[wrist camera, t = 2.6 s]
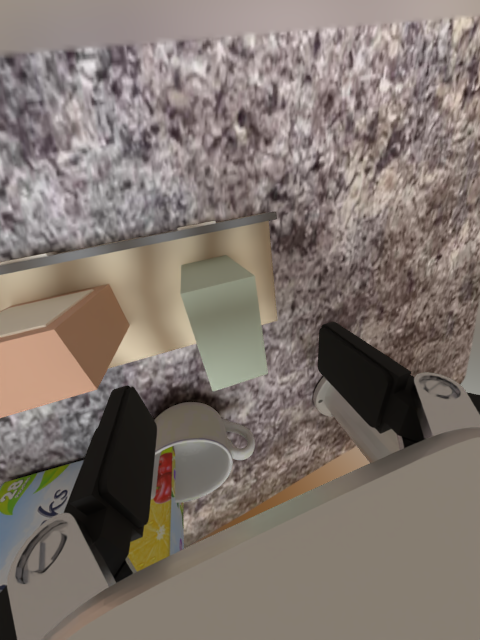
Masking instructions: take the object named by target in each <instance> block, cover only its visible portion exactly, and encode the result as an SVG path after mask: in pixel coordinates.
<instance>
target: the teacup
mask: <svg viewBox="0 0 480 640" xmlns="http://www.w3.org/2000/svg"><path fill="white" fill-rule="evenodd" d="M154 421H155V423H156V425H157V439H156V449H155V460H154V470H153V481H152V492H151V499H153V498H154V497H155V494H156V487H157V476H158V467H159V459H160V455H161V452H162V451H163V450H165V449H167V448H169V447H171V446H174V450H175V465H176V471H175V502H176V503H182V502H187V501H191V500H195V499H198V498H200V497H203V496H205V495H207V494H209V493H211V492H212V491H214V490H215V489H217V488H218V487H219V486H220V485H222V483H223V482H224V481H225V480H226V479H227V477H228V476H229V474H230V472H231V469H232V463H233V462H232V458H233V459H236V460H245V459H247V458H249V457H250V456H251V455H252V453H253V451H254V447H255V441H254V436H253V434H252V432H251V431H250V430H249V429H248V428H246V427H245V426H243V425H240V424H237V423H232V422H229V421H228V420H226V419H222V418H221V417H220V415H219V414H218V412H217V411H216V410H215V409H213V408H212V407H210V406H209V405H206V404H203V403H198V402H185V403H180V404H177V405H174V406H172V407H170V408H168V409H166V410H165V411H163V412H162V413H161V414H160V415H159V416H158V417H157V418H156V419H155V420H154ZM226 432H234V433H237V434H240V435H242V436H243V437H245V438H246V440H247V446H246V447H245V448H242V449H238V448H236V447H235V446H234V445H233V444H232V442H231V440H229V439H228V438H227V434H226Z"/></svg>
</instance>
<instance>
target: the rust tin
mask: <svg viewBox="0 0 480 640" xmlns="http://www.w3.org/2000/svg"><path fill="white" fill-rule="evenodd" d="M129 326H130V325H129V323H128V321H127V319H126V317H125V315H124V313H123V311H122V309H121V307H120V305H119V303H118V301H117V299H116V297H115V295H114V293H113V291H112V289H111V287H110V285H109V284H106V285H102V286H97V287H93V288H89V289H84V290H80V291H75V292H71V293H66V294H62V295H57V296H53V297H48V298H44V299H39V300H35V301H30V302H26V303H21V304H17V305H12V306H10V307H8V308H6V309H4V310H2V311H0V418H2V417H5V416H9V415H12V414H16V413H19V412H22V411H26V410H29V409H33V408H36V407H39V406H43V405H46V404H49V403H53V402H56V401H60V400H63V399H66V398H70V397H73V396H77V395H80V394H83V393H87V392H90V391H93V390H97V389H98V387H99V385H100V383H101V381H102V379H103V377H104V375H105V373H106V371H107V369H108V367H109V365H110V363H111V361H112V359H113V357H114V356H115V354H116V352H117V350H118V348H119V346H120V344H121V342H122V340H123V338H124V336H125V334H126V332H127V330H128V328H129Z"/></svg>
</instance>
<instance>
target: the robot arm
mask: <svg viewBox="0 0 480 640" xmlns="http://www.w3.org/2000/svg"><path fill="white" fill-rule="evenodd" d="M318 369H319V372H320V373H321V374H322V375H323V376H324V377H323V378H322V379H321V381H320V382H319V383H318V385H317V387H316V389H315V392H314V397H313V401H314V405H315V407H316V408H317V410H318V411H319V412H320V413H321V414H323V415H325V416H331V417H333V416H334V417H335V419H336V420H337V421H338V423H339V424H340V425H341V426H342V428H343V429H344V430H345V432H346V433H347V434H348V435H349V437H350V438H351V439H352V440H353V442H354V443H355V444H356V446H357V447H358V448H359V449H360V451H361V452H362V453H363V455H364V456H365V457H366V458H367V460H368V461H369V462H370V464H368V465H365V466H363V467H361V468H359V469H357V470H354V471H352V472H350V473H348V474H346V475H343V476H341V477H339V478H337V479H334V480H332V481H330V482H328V483H326V484H323V485H321V486H319V487H317V488H315V489H313V490H311V491H308V492H306V493H304V494H302V495H299V496H297V497H295V498H293V499H291V500H289V501H286V502H284V503H282V504H280V505H278V506H275V507H274V508H271V509H269V510H267V511H264V512H263V513H261V514H258V515H256V516H254V517H252V518H249V519H247V520H245V521H243V522H241V523H239V524H237V525H234V526H232V527H230V528H228V529H226V530H223V531H221V532H219V533H217V534H215V535H213V536H211V537H209V538H206V539H204V540H202V541H200V542H198V543H195V544H193V545H191V546H189V547H187V548H185V549H183V550H181V551H179V552H177V553H175V554H172V555H170V556H168V557H166V558H164V559H162V560H160V561H158V562H156V563H154V564H152V565H150V566H148V567H146V568H144V569H142V570H140V571H138V572H137V571H136V569H135V567H134V566H133V564H132V563H131V561H130V559H129V558H128V555H129V549H130V542H132V541H134V540H137V539H139V538H141V537H143V531H144V525H146V524H147V523H148V520H149V513H150V502H151V492H152V481H153V470H154V460H155V449H156V439H157V425H156V423H155V421H154V419H153V418H152V416H151V414H150V413H149V411H148V409H147V408H146V406H145V404H144V403H143V401H142V399H141V398H140V396H139V395H138V393H137V391H136V390H135V388H134V387H132V388H130V387H129V386H124V387H120V388H117V389H114V390H113V391H112V392H111V395H110V397H109V400H108V403H107V405H106V408H105V411H104V413H103V416H102V419H101V421H100V424H99V427H98V428H97V429H96V431H95V433H94V435H93V438H92V440H91V443H90V445H89V448H88V451H87V453H86V456H85V458H84V461H83V464H82V466H81V469H80V471H79V474H78V477H77V479H76V482H75V484H74V487H73V489H72V492H71V495H70V497H69V500H68V502H67V505H66V508H65V510H64V513H61V514H58V515H55V516H53V517H52V518H50V519H48V520H47V521H45V522H44V523H43V524H42V525H41V526H39V527H38V528H37V529H36V530H35V531H34V532H33V533H32V535H31V536H30V537H29V538H28V539H27V540H26V542H25V543H24V544H23V546H22V547H21V549H20V550H19V551H18V553H17V555H16V557H15V559H14V561H13V563H12V564H11V567H10V571H9V574H8V577H7V586H6V587H5V588H4V589H3V590H2V591H1V592H0V640H480V395H476V394H471V393H467V392H466V391H465V390H464V388H463V387H462V386H461V385H460V384H458V383H457V382H456V381H454V380H452V379H450V378H448V377H446V376H443V375H440V374H436V373H427V372H425V373H420V374H418V375H416V376H415V378H414V377H413V376H411V375H410V374H411V371H409V370H408V369H406V368H404V367H403V366H401V365H400V364H398V363H397V362H395V361H394V360H392V359H391V358H389V357H388V356H386V355H385V354H383V353H382V352H380V351H379V350H377V349H376V348H374V347H372V346H371V345H369V344H368V343H366V342H365V341H363V340H362V339H360V338H359V337H357V336H356V335H354V334H353V333H351V332H350V331H348V330H347V329H345V328H343V327H342V326H340V325H339V324H337V323H336V322H330V323H327V324H324V325H322V328H321V329H320V331H319V352H318Z"/></svg>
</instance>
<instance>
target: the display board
mask: <svg viewBox="0 0 480 640" xmlns="http://www.w3.org/2000/svg"><path fill="white" fill-rule="evenodd" d="M275 219H277V214H276V212H269V213H262V214H257V215H252V216H246V217H241V218H236V219H231V220H226V221H221V222H215V221H210V222H205V223H200V224H195V225H189V226H184V227H179V228H177V229H178V230H175V231H170V232H164V233H159V234H154V235H149V236H144V237H139V238H134V239H128V240H123V241H118V242H113V243H108V244H103V245H98V246H93V247H87V248H82V249H77V250H72V251H67V252H62V253H57V251H55V252H50V253H45V254H39V255H34V256H29V257H24V258H19V259H14V260H9V261H4V262H0V311H2V310H4V309H6V308H8V307H10V306H12V305H17V304H21V303H26V302H30V301H35V300H39V299H44V298H48V297H53V296H57V295H62V294H66V293H71V292H75V291H80V290H84V289H89V288H93V287H97V286H102V285H106V284H109V285H110V287H111V289H112V291H113V293H114V295H115V297H116V299H117V301H118V303H119V305H120V307H121V309H122V311H123V313H124V315H125V317H126V319H127V321H128V323H129V325H130V326H129V328H128V330H127V332H126V334H125V336H124V338H123V340H122V342H121V344H120V346H119V348H118V350H117V352H116V354H115V356H114V357H113V359H112V361H111V363H110V365H109V367H108V368H112V367H115V366H119V365H122V364H126V363H129V362H133V361H136V360H140V359H143V358H147V357H151V356H154V355H158V354H161V353H165V352H168V351H172V350H175V349H179V348H182V347H186V346H189V345H193V344H196V340H195V337H194V334H193V330H192V327H191V324H190V321H189V318H188V315H187V312H186V309H185V306H184V303H183V300H182V297H181V294H180V292H181V265H184V264H188V263H193V262H197V261H202V260H206V259H211V258H215V257H220V256H224V255H227V256H228V257H230V258H231V259H232V260H234V261H235V262H237V263H238V264H239V265H241V266H242V267H243V268H245V269H246V270H247V271H249V272H250V273H252V274H253V275H254V276H255V281H256V289H257V296H258V303H259V311H260V318H261V325H264V324H267V323H271V322H274V321H277V311H276V300H275V288H274V277H273V266H272V254H271V243H270V232H269V221H270V220H275Z"/></svg>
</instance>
